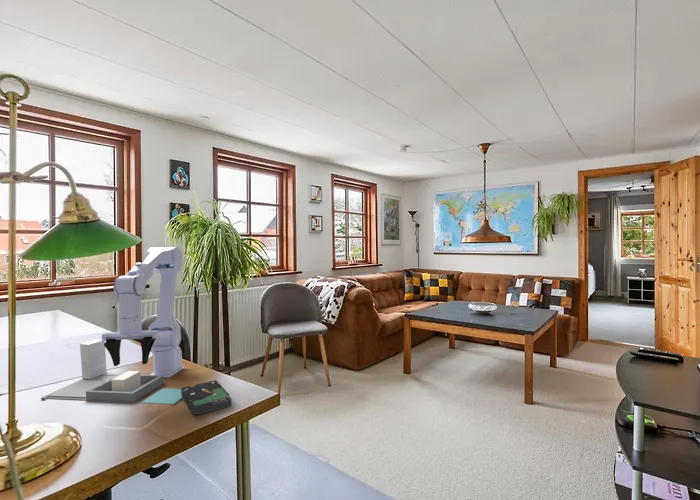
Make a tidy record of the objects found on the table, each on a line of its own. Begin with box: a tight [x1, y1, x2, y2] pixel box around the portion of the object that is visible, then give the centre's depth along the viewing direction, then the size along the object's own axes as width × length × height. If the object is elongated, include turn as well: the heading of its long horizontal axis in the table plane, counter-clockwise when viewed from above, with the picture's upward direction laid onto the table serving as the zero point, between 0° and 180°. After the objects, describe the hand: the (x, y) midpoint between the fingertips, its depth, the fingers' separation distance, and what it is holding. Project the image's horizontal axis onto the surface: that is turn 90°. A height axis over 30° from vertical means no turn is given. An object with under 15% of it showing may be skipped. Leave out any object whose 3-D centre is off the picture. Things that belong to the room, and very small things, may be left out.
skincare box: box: [79, 338, 107, 380], centre depth 131 cm, size 6×4×12 cm
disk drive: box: [180, 380, 232, 415], centre depth 108 cm, size 10×3×15 cm
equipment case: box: [40, 373, 165, 404], centre depth 117 cm, size 14×30×3 cm, turn 82°
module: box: [111, 370, 141, 392], centre depth 116 cm, size 7×4×5 cm, turn 172°
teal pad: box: [140, 387, 184, 406], centre depth 112 cm, size 10×10×1 cm
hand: (131, 364), depth 110 cm, fingers open, 7 cm apart
